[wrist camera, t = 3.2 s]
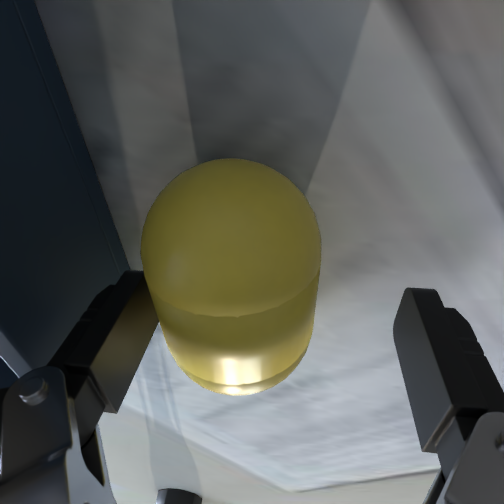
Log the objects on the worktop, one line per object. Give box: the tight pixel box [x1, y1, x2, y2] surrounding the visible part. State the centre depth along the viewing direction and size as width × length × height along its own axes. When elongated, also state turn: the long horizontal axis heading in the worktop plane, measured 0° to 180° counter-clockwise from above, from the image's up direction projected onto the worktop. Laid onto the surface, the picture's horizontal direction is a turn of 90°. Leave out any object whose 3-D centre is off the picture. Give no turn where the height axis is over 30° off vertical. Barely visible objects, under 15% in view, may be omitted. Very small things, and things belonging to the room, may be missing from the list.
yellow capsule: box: [140, 158, 321, 395], centre depth 11 cm, size 8×5×5 cm, turn 3°
